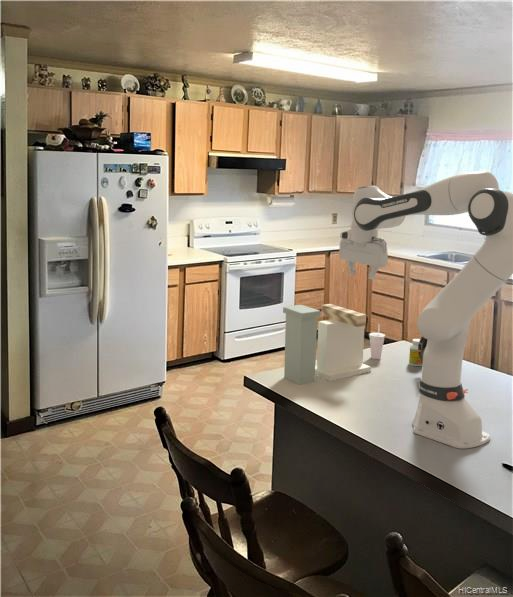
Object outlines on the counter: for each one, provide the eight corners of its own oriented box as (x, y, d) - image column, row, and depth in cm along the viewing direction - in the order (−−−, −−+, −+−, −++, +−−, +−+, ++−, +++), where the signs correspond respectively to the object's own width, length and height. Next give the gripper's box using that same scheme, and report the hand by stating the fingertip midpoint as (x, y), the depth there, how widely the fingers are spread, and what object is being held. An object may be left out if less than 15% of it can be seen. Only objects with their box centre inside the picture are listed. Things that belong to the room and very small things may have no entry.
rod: (365, 325, 227) (366, 314, 226) (357, 326, 225) (357, 315, 224) (329, 314, 244) (330, 303, 243) (321, 315, 241) (321, 304, 241)
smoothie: (385, 360, 254) (387, 326, 251) (369, 360, 254) (370, 325, 251) (382, 355, 260) (384, 322, 257) (366, 355, 260) (368, 321, 257)
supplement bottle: (407, 364, 248) (408, 340, 246) (410, 361, 253) (412, 337, 251) (421, 367, 246) (422, 342, 244) (424, 363, 251) (426, 339, 249)
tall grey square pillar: (317, 381, 228) (320, 310, 222) (299, 385, 223) (301, 313, 218) (299, 373, 237) (301, 304, 231) (281, 376, 232) (283, 307, 227)
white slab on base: (370, 371, 239) (373, 320, 235) (329, 381, 229) (331, 326, 224) (349, 363, 249) (351, 313, 245) (308, 371, 238) (310, 319, 234)
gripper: (393, 238, 205) (390, 281, 208) (351, 231, 221) (349, 271, 224) (379, 239, 201) (376, 282, 204) (337, 232, 218) (335, 272, 221)
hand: (361, 276), depth 214 cm, fingers open, 8 cm apart
